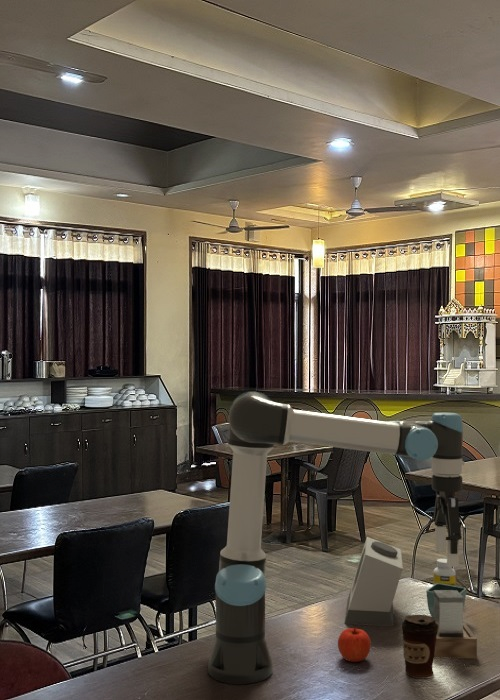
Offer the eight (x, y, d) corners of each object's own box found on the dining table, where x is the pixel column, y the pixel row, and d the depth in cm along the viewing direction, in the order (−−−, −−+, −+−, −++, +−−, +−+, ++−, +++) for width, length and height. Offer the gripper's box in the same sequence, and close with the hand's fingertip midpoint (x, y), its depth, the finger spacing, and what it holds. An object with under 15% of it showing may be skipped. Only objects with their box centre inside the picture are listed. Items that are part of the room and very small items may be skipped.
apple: (350, 650, 197) (350, 618, 197) (377, 659, 192) (377, 626, 192) (330, 659, 192) (330, 626, 192) (357, 668, 186) (357, 635, 186)
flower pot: (467, 619, 219) (467, 587, 219) (457, 629, 212) (457, 596, 212) (436, 614, 224) (436, 582, 224) (425, 623, 217) (425, 590, 217)
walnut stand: (431, 658, 192) (431, 638, 192) (422, 641, 203) (422, 622, 203) (476, 658, 192) (476, 638, 192) (465, 641, 203) (465, 622, 203)
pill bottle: (434, 601, 235) (434, 563, 235) (432, 595, 241) (432, 557, 241) (456, 603, 234) (456, 564, 234) (454, 596, 240) (454, 558, 240)
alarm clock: (347, 600, 237) (347, 532, 237) (400, 602, 234) (400, 534, 234) (344, 623, 216) (344, 550, 216) (402, 627, 214) (402, 552, 214)
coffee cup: (430, 685, 177) (430, 627, 177) (395, 676, 182) (395, 620, 181) (442, 671, 185) (443, 616, 184) (409, 663, 189) (409, 609, 189)
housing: (463, 638, 195) (463, 597, 195) (439, 638, 195) (439, 597, 195) (456, 629, 201) (457, 590, 201) (433, 629, 201) (433, 590, 201)
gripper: (475, 483, 185) (474, 573, 185) (450, 466, 210) (450, 546, 210) (442, 482, 185) (442, 572, 186) (422, 466, 210) (421, 546, 210)
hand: (446, 558), depth 198 cm, fingers open, 13 cm apart
